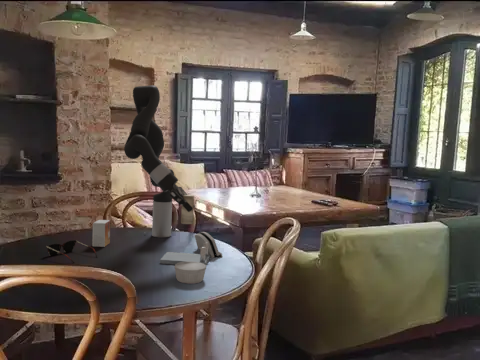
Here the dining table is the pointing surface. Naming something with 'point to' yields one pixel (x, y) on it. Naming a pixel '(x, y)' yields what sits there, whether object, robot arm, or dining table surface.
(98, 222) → the small box
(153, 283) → the dining table surface
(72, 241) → the sunglasses
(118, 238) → the dining table surface
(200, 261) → the pad
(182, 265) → the ramekin
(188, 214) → the birch pin
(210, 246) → the grey half-round upright piece
